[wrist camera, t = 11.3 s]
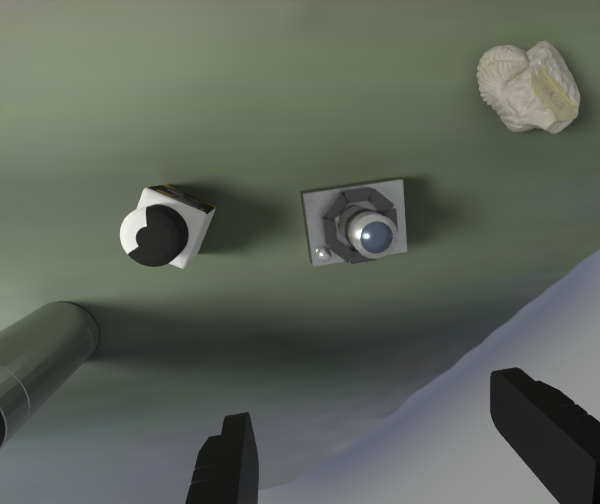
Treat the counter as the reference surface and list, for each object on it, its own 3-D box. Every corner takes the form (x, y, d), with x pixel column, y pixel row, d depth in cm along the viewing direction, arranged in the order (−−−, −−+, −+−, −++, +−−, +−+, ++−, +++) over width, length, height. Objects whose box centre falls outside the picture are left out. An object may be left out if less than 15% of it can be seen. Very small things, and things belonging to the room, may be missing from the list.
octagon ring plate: (308, 256, 47) (314, 271, 40) (299, 190, 45) (304, 195, 38) (394, 243, 48) (413, 256, 41) (389, 177, 45) (409, 179, 39)
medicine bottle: (217, 206, 45) (197, 220, 33) (197, 254, 46) (171, 284, 34) (164, 183, 43) (124, 189, 32) (145, 233, 45) (100, 257, 33)
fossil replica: (480, 34, 42) (448, 118, 45) (520, 9, 34) (478, 113, 37) (570, 63, 43) (532, 143, 46) (629, 45, 35) (579, 143, 38)
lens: (340, 244, 42) (355, 263, 34) (336, 207, 41) (351, 218, 33) (376, 239, 42) (400, 256, 34) (373, 202, 41) (398, 211, 33)
